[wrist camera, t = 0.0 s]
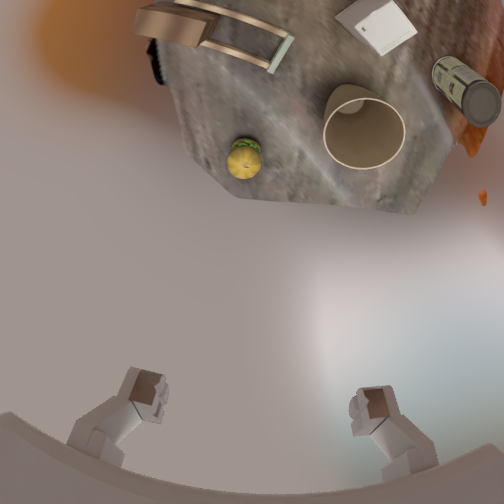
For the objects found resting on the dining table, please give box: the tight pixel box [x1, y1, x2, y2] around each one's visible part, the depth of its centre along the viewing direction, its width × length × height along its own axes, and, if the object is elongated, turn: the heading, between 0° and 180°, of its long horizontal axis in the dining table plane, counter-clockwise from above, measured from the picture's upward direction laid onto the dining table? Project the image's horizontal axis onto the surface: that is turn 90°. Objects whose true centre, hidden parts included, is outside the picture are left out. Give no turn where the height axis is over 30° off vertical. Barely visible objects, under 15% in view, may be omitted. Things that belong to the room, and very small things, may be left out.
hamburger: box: [227, 138, 261, 179], centre depth 58 cm, size 8×7×12 cm
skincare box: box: [335, 0, 418, 56], centre depth 27 cm, size 8×7×16 cm
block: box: [131, 2, 220, 48], centre depth 32 cm, size 12×5×11 cm, turn 66°
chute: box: [174, 0, 288, 69], centre depth 37 cm, size 22×9×2 cm, turn 66°
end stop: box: [267, 32, 295, 74], centre depth 40 cm, size 1×9×4 cm, turn 156°
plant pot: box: [323, 84, 405, 169], centre depth 44 cm, size 15×15×16 cm
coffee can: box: [432, 56, 501, 127], centre depth 32 cm, size 10×10×14 cm
